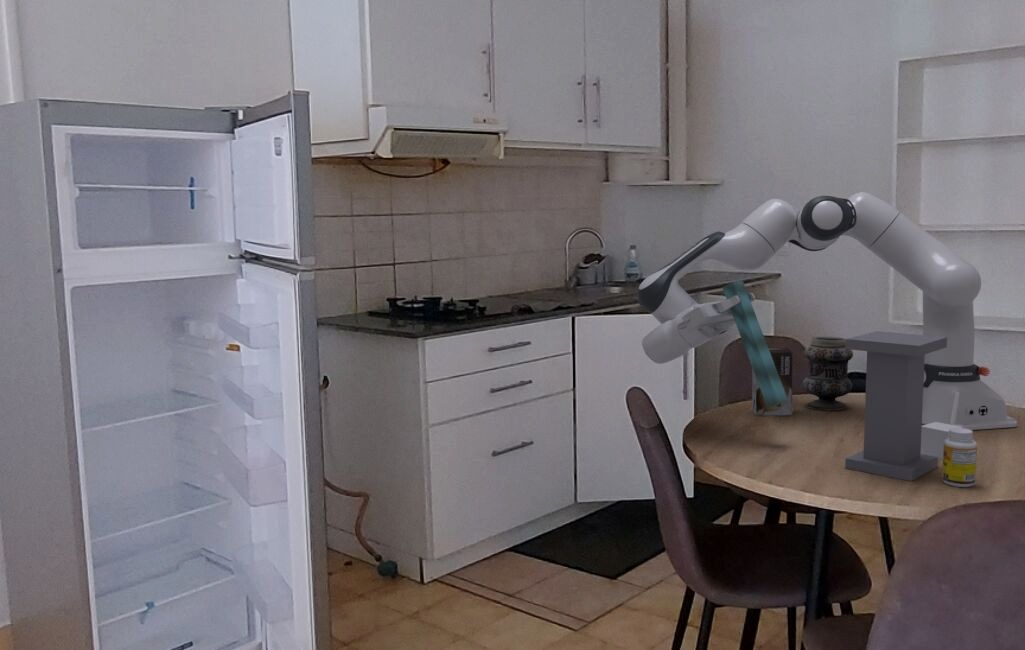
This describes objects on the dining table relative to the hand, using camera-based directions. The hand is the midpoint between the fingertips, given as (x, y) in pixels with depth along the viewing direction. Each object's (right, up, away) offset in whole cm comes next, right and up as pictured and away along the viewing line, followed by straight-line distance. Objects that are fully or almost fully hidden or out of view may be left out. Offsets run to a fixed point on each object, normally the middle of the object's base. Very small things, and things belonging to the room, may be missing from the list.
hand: (746, 297), depth 202 cm
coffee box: (+14, -28, +30) cm, 43 cm away
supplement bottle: (+32, -36, -30) cm, 57 cm away
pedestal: (+24, -34, -19) cm, 46 cm away
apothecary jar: (+30, -27, +36) cm, 54 cm away
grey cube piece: (+38, -33, -10) cm, 52 cm away
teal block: (+1, -11, +1) cm, 11 cm away
